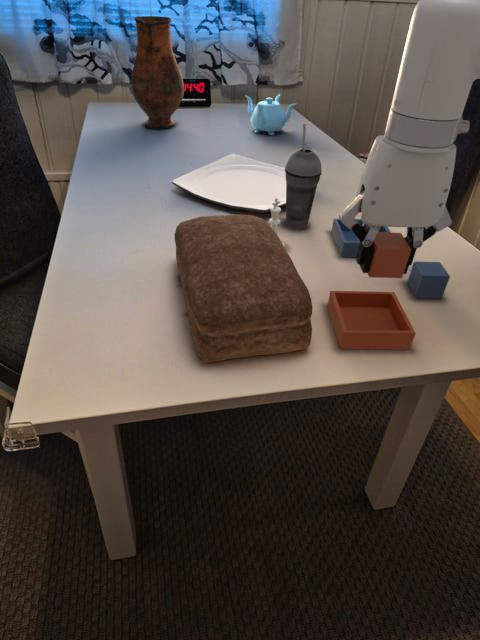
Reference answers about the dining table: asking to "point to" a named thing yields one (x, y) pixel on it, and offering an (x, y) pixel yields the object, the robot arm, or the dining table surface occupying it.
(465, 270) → the dining table surface
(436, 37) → the robot arm
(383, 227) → the slate bin
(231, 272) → the bread
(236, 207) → the plate
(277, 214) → the chess piece
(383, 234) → the terracotta block
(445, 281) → the slate block
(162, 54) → the brown vase
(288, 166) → the beverage cup
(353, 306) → the terracotta bin
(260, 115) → the teapot
